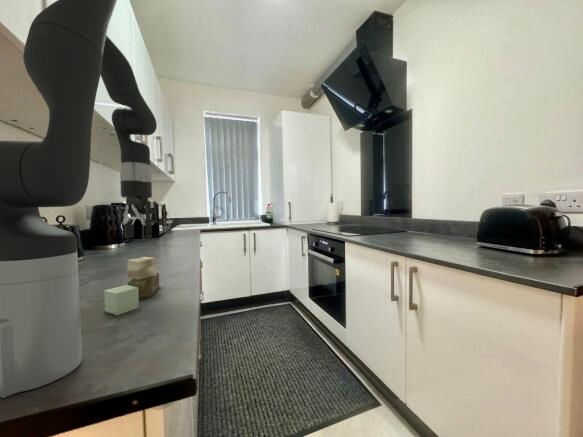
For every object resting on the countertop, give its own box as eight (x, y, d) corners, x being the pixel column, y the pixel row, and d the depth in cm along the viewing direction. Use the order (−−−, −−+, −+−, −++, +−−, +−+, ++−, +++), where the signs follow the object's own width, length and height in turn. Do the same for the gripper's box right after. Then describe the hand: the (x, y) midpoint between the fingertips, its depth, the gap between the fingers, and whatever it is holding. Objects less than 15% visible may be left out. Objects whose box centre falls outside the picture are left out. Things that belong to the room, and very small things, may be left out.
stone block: (126, 300, 68) (126, 281, 68) (139, 288, 79) (139, 272, 79) (151, 298, 70) (150, 280, 69) (160, 286, 81) (159, 270, 81)
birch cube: (138, 279, 70) (137, 261, 70) (127, 277, 73) (127, 260, 72) (155, 275, 75) (155, 258, 74) (145, 273, 77) (144, 257, 77)
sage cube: (116, 315, 58) (115, 293, 58) (105, 311, 61) (104, 290, 60) (138, 308, 63) (138, 287, 62) (127, 304, 65) (126, 284, 65)
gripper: (108, 181, 72) (109, 239, 73) (137, 177, 66) (139, 241, 66) (135, 183, 79) (136, 236, 79) (164, 180, 72) (166, 238, 72)
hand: (138, 238), depth 73 cm, fingers open, 8 cm apart
